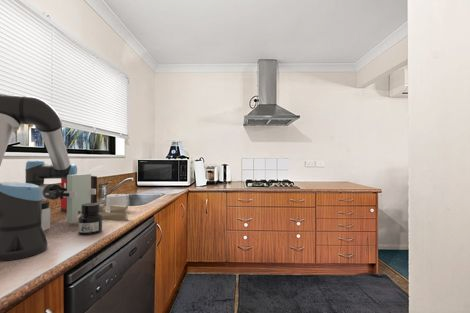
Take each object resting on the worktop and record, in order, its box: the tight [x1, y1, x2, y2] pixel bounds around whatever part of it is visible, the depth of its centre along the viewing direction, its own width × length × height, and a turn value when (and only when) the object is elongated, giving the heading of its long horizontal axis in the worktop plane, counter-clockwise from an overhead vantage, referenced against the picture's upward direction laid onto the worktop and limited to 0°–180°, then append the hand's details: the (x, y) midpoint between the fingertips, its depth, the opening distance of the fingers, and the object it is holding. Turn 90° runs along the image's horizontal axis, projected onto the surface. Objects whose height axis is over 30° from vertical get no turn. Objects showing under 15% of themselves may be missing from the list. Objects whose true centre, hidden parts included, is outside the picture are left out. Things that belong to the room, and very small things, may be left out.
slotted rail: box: [99, 203, 129, 221], centre depth 132 cm, size 2×22×7 cm, turn 77°
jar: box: [41, 200, 51, 232], centre depth 111 cm, size 9×8×12 cm
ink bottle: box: [77, 202, 103, 236], centre depth 108 cm, size 10×9×12 cm
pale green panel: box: [66, 173, 92, 224], centre depth 123 cm, size 11×3×22 cm, turn 166°
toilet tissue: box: [105, 193, 127, 211], centre depth 147 cm, size 11×12×10 cm
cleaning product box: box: [60, 175, 98, 214], centre depth 154 cm, size 16×9×20 cm, turn 143°
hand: (86, 193), depth 122 cm, fingers closed on pale green panel, 11 cm apart
